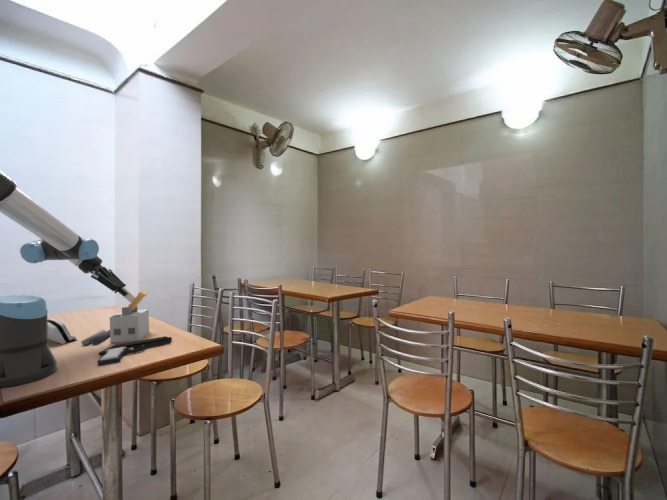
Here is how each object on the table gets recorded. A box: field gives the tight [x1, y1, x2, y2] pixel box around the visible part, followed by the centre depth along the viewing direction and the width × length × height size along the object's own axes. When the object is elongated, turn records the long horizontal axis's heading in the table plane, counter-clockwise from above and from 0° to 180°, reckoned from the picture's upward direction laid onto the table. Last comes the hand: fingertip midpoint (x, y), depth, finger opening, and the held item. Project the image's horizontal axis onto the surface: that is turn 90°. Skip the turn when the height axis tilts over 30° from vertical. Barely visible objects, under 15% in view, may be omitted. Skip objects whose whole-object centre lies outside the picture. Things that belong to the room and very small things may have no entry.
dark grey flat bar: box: [81, 329, 110, 346], centre depth 126 cm, size 5×14×2 cm, turn 14°
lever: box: [127, 290, 148, 312], centre depth 129 cm, size 2×5×10 cm
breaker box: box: [109, 303, 150, 344], centre depth 128 cm, size 10×12×13 cm
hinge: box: [47, 318, 78, 345], centre depth 126 cm, size 17×5×10 cm, turn 60°
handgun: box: [97, 335, 173, 366], centre depth 111 cm, size 3×23×15 cm
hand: (134, 299), depth 129 cm, fingers closed
